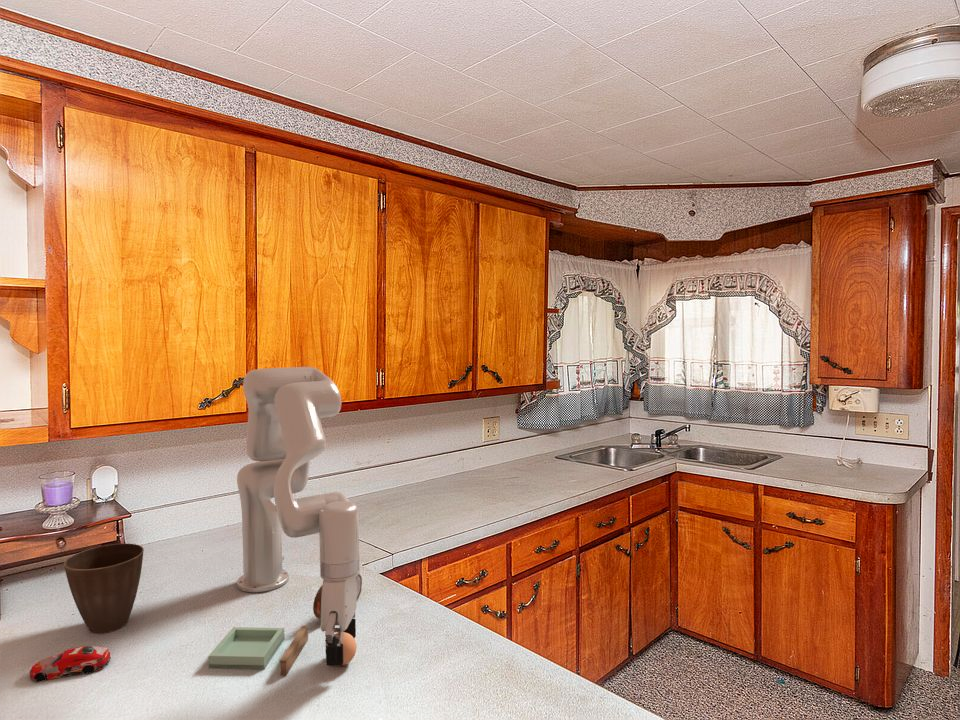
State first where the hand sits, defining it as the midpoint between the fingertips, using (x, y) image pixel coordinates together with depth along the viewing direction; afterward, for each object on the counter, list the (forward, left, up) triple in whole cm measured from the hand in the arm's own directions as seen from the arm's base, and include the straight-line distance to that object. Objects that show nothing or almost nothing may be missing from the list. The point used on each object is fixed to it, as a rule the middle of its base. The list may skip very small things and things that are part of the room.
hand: (341, 650), depth 118 cm
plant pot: (-13, -56, -3) cm, 58 cm away
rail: (-2, -10, -3) cm, 11 cm away
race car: (+4, -52, -3) cm, 52 cm away
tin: (-21, -6, -3) cm, 22 cm away
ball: (0, 0, -3) cm, 3 cm away
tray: (-3, -20, -3) cm, 21 cm away
